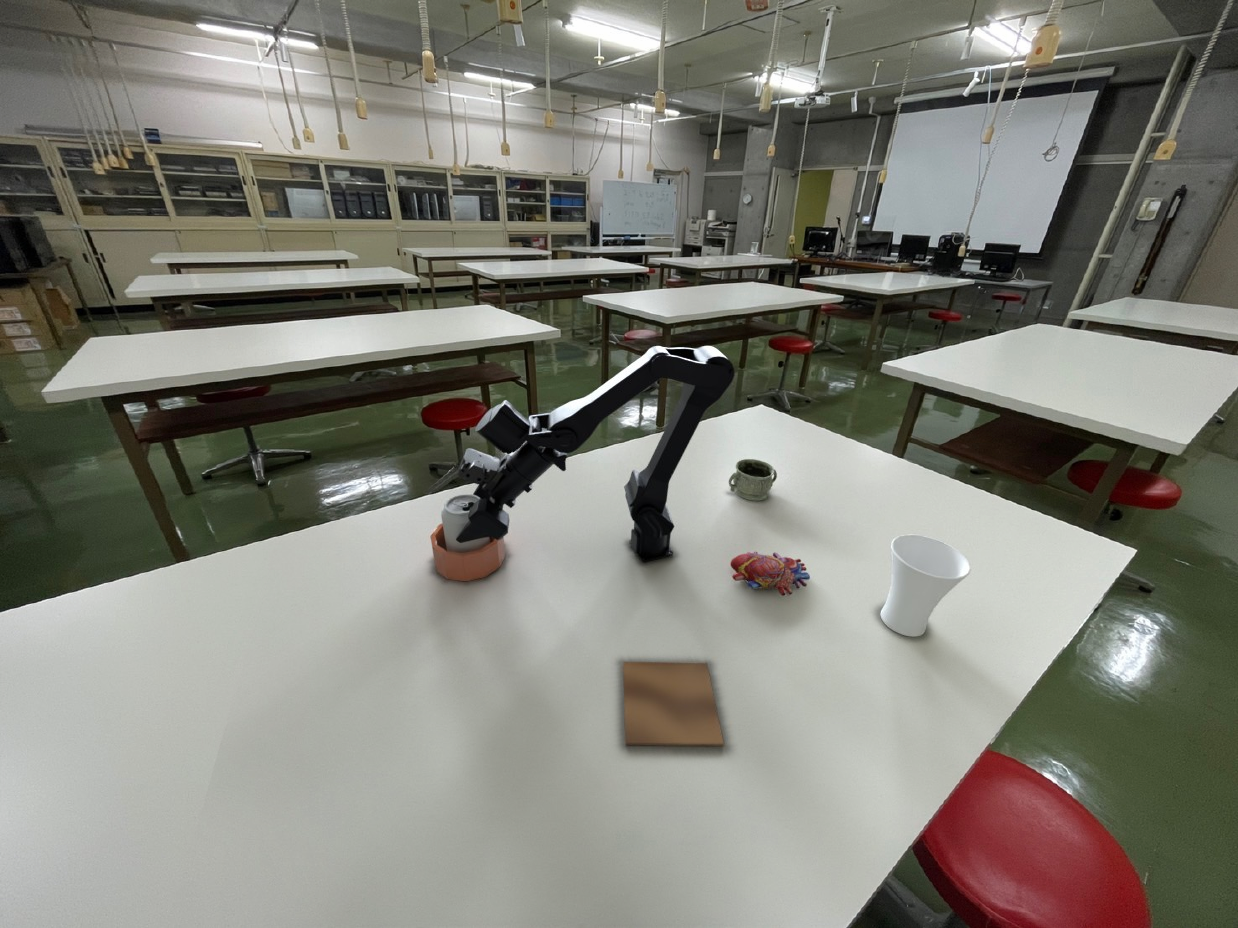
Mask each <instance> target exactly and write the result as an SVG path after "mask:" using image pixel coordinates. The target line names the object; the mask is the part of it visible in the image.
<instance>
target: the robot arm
mask: <svg viewBox="0 0 1238 928" xmlns="http://www.w3.org/2000/svg"><path fill="white" fill-rule="evenodd" d="M734 368H735V367H734V365H733V363H732V362H731V360H730V359H728V357H726V355H724V353H722V352H721V351H720V350H719V349H718V348H717V347H714V346H711V345H704V346H703V345H702V346H700V347H698V348H691V347H667V346H665V347H664V346H660V345H656V346H652V347H650V348H649V349H647V350H646V352H645V353H644V354H643V355H641V356H640V357H639V358H637V359H636V360H635V361H633V362H632V363H630V364H629V365H628V366H627V367H625V368H624V369H622V370H621V371H619V372H618V373H616V374H615V375H614V376H613V377H611V378H610V379H609V380H607V381H606V382H605V383H603V384H602V385H601V386H599V387H597V389H595V390H594V391H592V392H591V393H589V394H587V395H586V396H583V397H582V398H578V399H573V400H570V401H568V402H567V403H564V404H562V405H560V406H559V407H556V408H555V409H553V410H552V411H551V412H545V413H540V414H533V415H532V414H531V415H529V416H528V419H527V417H525V416H524V415H523V414H522V413H520V412H519V410H517V409H516V408H515V407H514V405H513V404H512V403H511V402H509V401H508V400H507V399H504V400H503V401H502V402H501V403H498V404H497V405H496V406H494V407H493V408H492V407H491V408H490V409H489V410H488V411H487V412H486V413H485V414H484V415H483V416H482V418H481V419H480V420H479V422H478V423H477V425H476V427H475V429H474V431H475V433H477V434H478V435H479V436H481V437H482V438H483V439H484V440H486V441H487V442H488V443H489V444H491V445H492V446H494V448H496V449H497V450H498V451H499V452H501V453H502V454H507V455H503V456H502V457H501V458H498V457H497V456H492V455H490V454H488V453H485V452H482V451H479V450H476V449H474V448H469V447H468V448H466V449H465V452H464V455H463V457H462V459H461V462H460V464H459V467H458V470H457V473H456V474H457V476H458V477H459V478H461V479H463V480H464V481H466V482H469V483H472V484H475V485H477V487H476V488H475V490H474V491H473V493H472V495H476V496H478V497H480V499H479V500H478V501H477V502H476V503H475V504H474V505H473V507H470V511H469V515H468V519H469V522H468V523H467V524H466V526H465V527H464V528H463V530H462V531H461V532H460V534H459V535H458V536H457V538H456V541H458V542H459V543H464V542H468V541H472V540H476V539H480V538H486V537H493V538H495V539H496V540H500V539H502V538H503V537H504V538H505V536H506V535H507V534H508V533H509V528H510V514H509V513H508V512H507V511H505V510H504V506H505V505H506V506H507V507H508V508H510V509H512V508H513V507H514V506H516V500H517V498H518V497H519V496H521V495H522V494H523V493H524V492H525V493H527V494H529V493H530V492H531V491H532V490H533V484H534V483H535V482H536V481H537V480H538V479H539V478H540V477H541V476H543V475H544V474H545V473H546V472H547V471H548V470H549V469H550V468H551V467H552V466H553V465H554V466H556V467H557V468H558V469H559V470H560V471H562V472H565V471H566V470H567V464H566V463H567V459H568V454H572V453H574V452H576V451H577V450H578V449H580V448H581V447H582V446H583V445H584V444H585V443H586V442H587V441H588V440H589V439H590V438H591V437H592V436H593V434H594V432H595V431H596V429H597V428H598V427H599V425H600V424H601V423H602V422H603V421H604V420H605V419H607V418H608V417H609V416H611V415H612V414H614V413H615V412H616V411H618V410H619V409H620V408H622V407H623V406H625V405H626V404H628V403H629V402H630V401H631V400H634V399H635V398H636V397H638V396H639V395H640V394H642V393H644V392H645V391H646V390H647V389H648V388H650V387H651V386H653V385H654V384H655V383H657V382H658V381H660V380H661V379H667V380H672V381H675V382H679V383H682V387H681V395H680V398H679V400H678V402H677V403H676V405H675V408H674V410H673V412H672V414H671V417H670V418H669V421H668V422H667V425H666V426H665V429H664V430H663V433H662V435H661V437H660V439H659V441H658V443H657V446H656V448H655V449H654V451H653V454H652V455H651V458H650V461H649V462H648V463H647V466H646V467H645V468H644V469H642V470H641V471H640V472H638V471H637V470H635V469H633V470H632V471H631V473H630V477H629V480H628V482H627V483H626V484H625V485H624V486H623V488H624V492H625V500H626V504H627V507H628V512H629V515H630V518H631V520H632V521H633V528H632V529H631V531H630V539H629V541H628V544H629V545H630V548H631V549H632V551H633V552H634V554H635V555H637V557H638V559H640V561H641V562H642V563H647V562H651V561H655V560H659V559H662V558H667V557H670V556H673V555H674V550H673V549H672V548H671V547H670V546H671V534H672V532H673V530H674V528H675V524H674V521H673V519H672V516H671V514H670V511H669V508H668V506H667V502H668V494H669V487H670V486H669V485H670V481H671V479H672V477H673V475H674V473H675V471H676V469H677V468H678V465H679V463H680V462H681V460H682V458H683V456H684V454H685V451H686V449H688V446H689V444H690V442H691V440H692V438H693V436H694V435H695V432H696V430H697V428H698V427H699V424H700V422H701V421H702V419H703V417H704V415H705V413H706V411H707V410H708V409H709V408H710V407H712V406H714V404H715V403H717V402H718V401H720V400H721V398H722V397H723V396H724V394H725V393H726V391H727V390H728V389H729V388H730V386H731V385H732V383H733V382H734V378H735V376H736V371H735V369H734ZM543 429H545V430H544V431H543ZM512 453H513V454H512ZM510 454H512V455H510Z"/></svg>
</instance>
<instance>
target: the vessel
mask: <svg viewBox="0 0 1238 928" xmlns="http://www.w3.org/2000/svg"><path fill="white" fill-rule="evenodd" d="M735 469H736V471H735V472H733V473H732V474H731V475H730V477H729V479H728V485H729V487H730V489H729V490H730V492H732V493H734V492H735V494H736V495H737V496H739V497H740V498H743V499H745V500H750V501H762V500H764V499H766V498H767V497H768V492H769V491H770V490H771V489H772V487H773V486H774V485H773V484H774V483H775V482H776V480H777V477H778V473H777V470H776V469H774V467H773V466H772V464H770V463H768V462H766V461H763V460H760V459H755V458H744V459H741V460H739V461H737V462H736V464H735Z"/></svg>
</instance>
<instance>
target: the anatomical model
mask: <svg viewBox="0 0 1238 928" xmlns="http://www.w3.org/2000/svg"><path fill="white" fill-rule="evenodd" d="M730 567H731V568H732V570H733V571H734V572H736V573H734V574H733V575H732V579H733V580H734V581H735V582H739V581H745V582H747V583H746V584H747V586H748V587H749V588H750V589H751V590H757V589H766V590H767V589H776V590H778V591H779V594H780V595H781V596H786V594H788V595H789V596H791V595H792V594H793V591H792V590H791V588H790V587H791V586H793V585H794V587H795V588H796V589H800V588H801V586H802V587H805V588H806V587H807V585H808V584H807V582H806V581H807V580H810V579H811V575H810V574H809V572H806V571H807V567H805V563H803V562H802V560H801V559H800V558H796V559H793V558H791V557H787V556H781V555H780V554H779V553H778V552H776V551H774V552H773V553H772V555H769V554H762V553H758V552H757V551H753V552H750V551H747V552H746V553H742V554H738V555H737V556H735V557H733V558H732V559H731V561H730ZM805 580H806V581H805ZM800 585H801V586H800Z"/></svg>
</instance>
